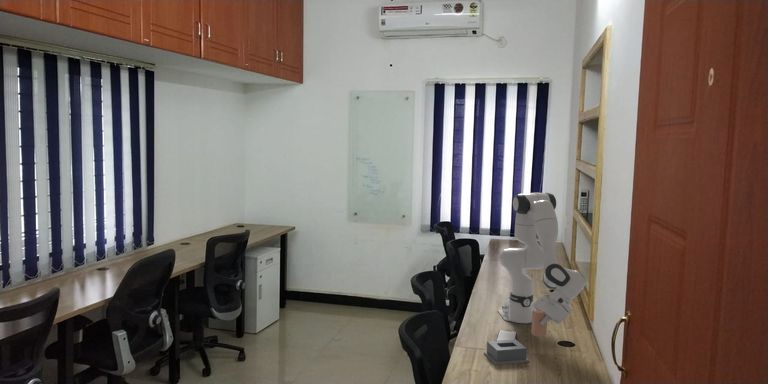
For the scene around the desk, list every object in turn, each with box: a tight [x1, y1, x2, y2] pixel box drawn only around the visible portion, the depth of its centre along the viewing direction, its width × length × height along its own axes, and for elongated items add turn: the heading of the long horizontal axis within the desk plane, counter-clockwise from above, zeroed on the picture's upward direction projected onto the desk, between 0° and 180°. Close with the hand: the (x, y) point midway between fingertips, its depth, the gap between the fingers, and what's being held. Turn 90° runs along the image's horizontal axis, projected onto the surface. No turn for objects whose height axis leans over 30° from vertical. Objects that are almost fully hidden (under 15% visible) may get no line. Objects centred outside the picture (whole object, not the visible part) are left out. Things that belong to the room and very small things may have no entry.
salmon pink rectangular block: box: [530, 309, 548, 337], centre depth 246 cm, size 3×6×11 cm, turn 104°
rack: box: [483, 338, 530, 366], centre depth 236 cm, size 12×16×6 cm
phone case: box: [495, 329, 518, 341], centre depth 260 cm, size 9×2×16 cm
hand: (538, 322), depth 246 cm, fingers closed on salmon pink rectangular block, 3 cm apart
